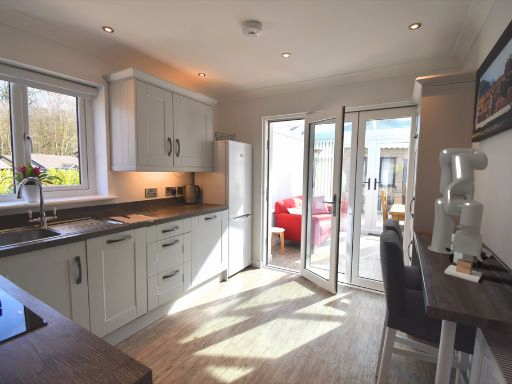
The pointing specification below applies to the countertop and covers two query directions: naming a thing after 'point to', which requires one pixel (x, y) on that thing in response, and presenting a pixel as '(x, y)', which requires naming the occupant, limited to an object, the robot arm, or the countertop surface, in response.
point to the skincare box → (460, 254)
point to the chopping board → (463, 274)
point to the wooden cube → (464, 266)
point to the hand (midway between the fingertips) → (464, 265)
